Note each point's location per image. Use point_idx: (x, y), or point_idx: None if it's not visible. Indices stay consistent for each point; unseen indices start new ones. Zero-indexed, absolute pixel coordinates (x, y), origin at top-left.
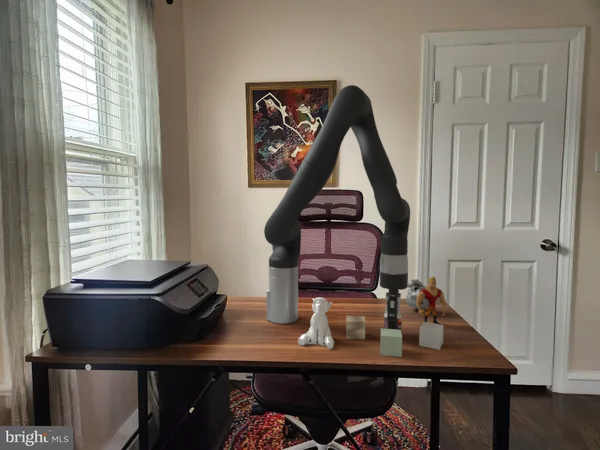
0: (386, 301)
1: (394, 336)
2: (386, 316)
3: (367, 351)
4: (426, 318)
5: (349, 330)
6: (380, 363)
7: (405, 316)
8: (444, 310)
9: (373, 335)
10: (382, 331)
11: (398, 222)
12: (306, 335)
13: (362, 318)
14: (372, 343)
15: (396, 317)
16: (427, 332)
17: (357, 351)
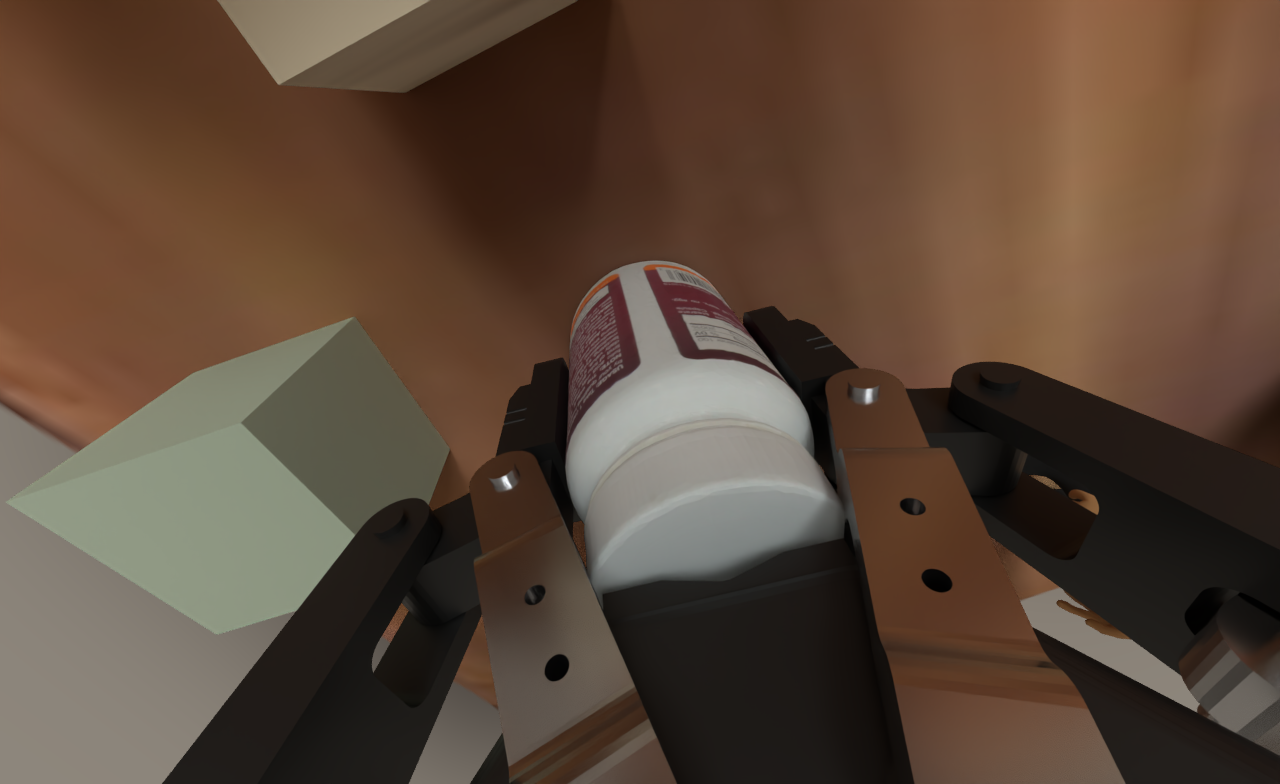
0: (508, 760)
1: (155, 594)
2: (582, 433)
3: (134, 244)
4: (1065, 492)
5: None
6: (47, 419)
7: (1249, 280)
8: (1110, 631)
9: (595, 147)
10: (155, 473)
11: None
12: None
13: None
14: (369, 218)
15: (402, 650)
16: None
17: (7, 140)
